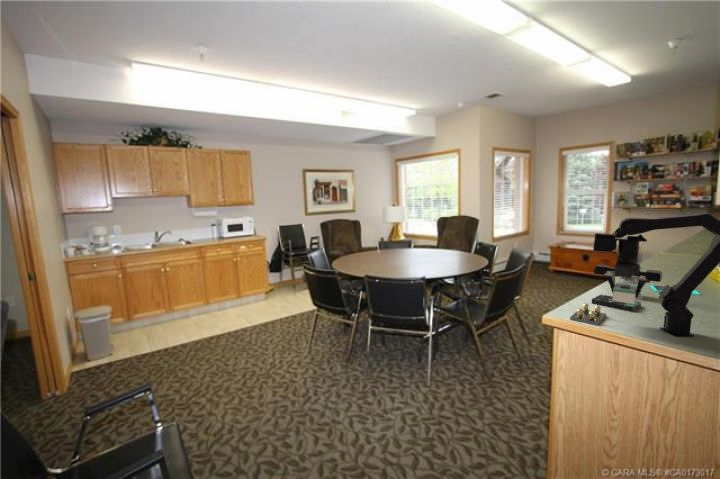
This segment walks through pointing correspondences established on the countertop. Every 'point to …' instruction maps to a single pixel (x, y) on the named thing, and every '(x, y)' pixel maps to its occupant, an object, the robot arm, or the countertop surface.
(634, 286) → the board
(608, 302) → the disk drive
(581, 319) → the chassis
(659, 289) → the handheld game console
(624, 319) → the countertop surface
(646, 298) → the countertop surface
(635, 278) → the french press
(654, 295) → the countertop surface
